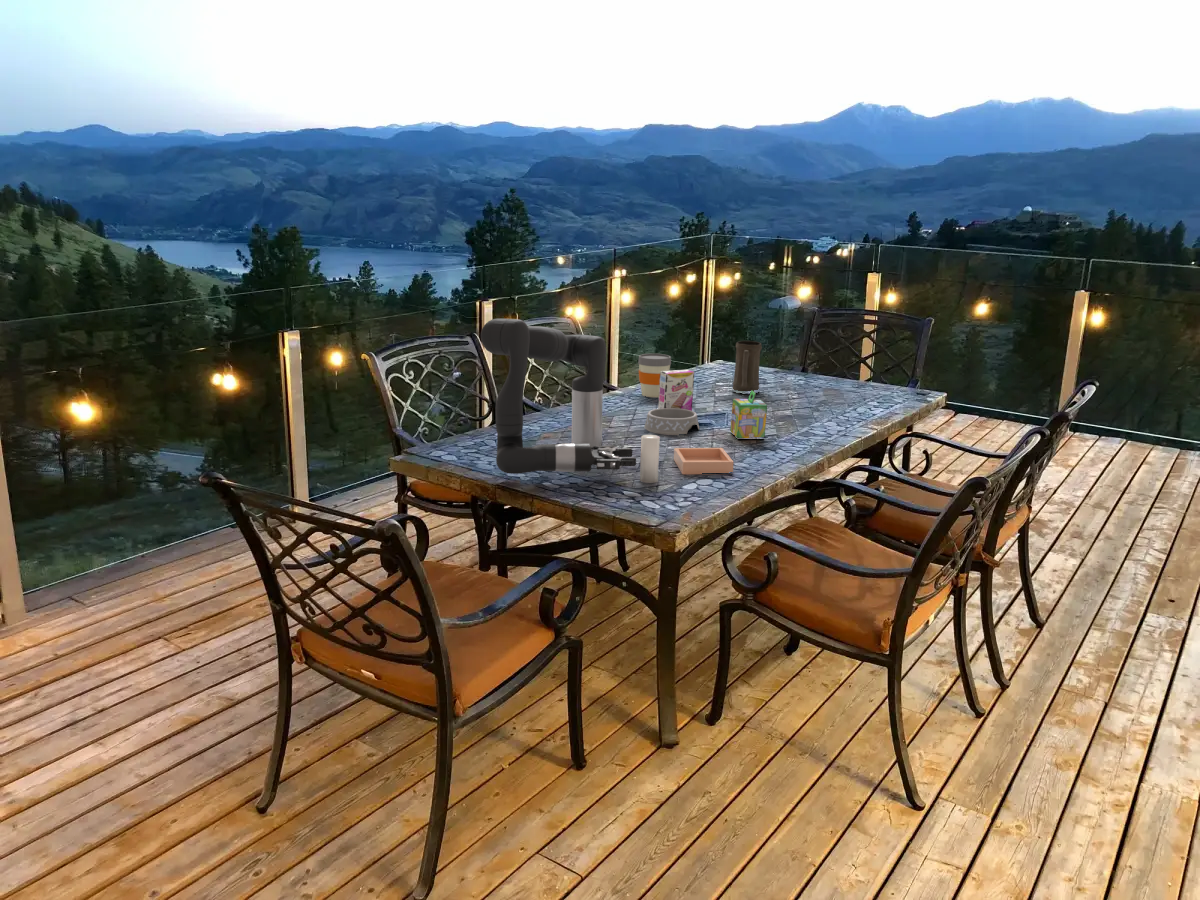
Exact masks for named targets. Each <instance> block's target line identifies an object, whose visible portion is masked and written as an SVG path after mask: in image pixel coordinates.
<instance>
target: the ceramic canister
mask: <svg viewBox="0 0 1200 900" xmlns="http://www.w3.org/2000/svg"><path fill="white" fill-rule="evenodd" d="M640 439H641V440H640V441H641V442H640V467H639V468H640V469H639V481H640V482H641V483H645V484H654V483H655V484H656V483H658V481H659V462H660V459H659V458H660V440H661V437H660V436H658V435H656V434H643V435H641V438H640Z"/></svg>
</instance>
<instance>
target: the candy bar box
mask: <svg viewBox="0 0 1200 900" xmlns="http://www.w3.org/2000/svg"><path fill="white" fill-rule="evenodd" d="M694 385H695V371H693V370H690V369H677V370H675V369H674V370H669V371H660V384H659V397H658V407H657V409H660V408H680V409H687V410H691V411H693V400H694Z"/></svg>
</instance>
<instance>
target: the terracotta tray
mask: <svg viewBox="0 0 1200 900" xmlns="http://www.w3.org/2000/svg"><path fill="white" fill-rule="evenodd" d="M673 461H674V462H675V465H676V466H677V467H678V469H679V471H680V472H681V474H682V475H703V474H702V473H729V472H733V473H734V460H733V459H732V458H731V456H730V455H729V454H728V453H727V452H726V451H725V449H724V448H723V447H674V449H673Z"/></svg>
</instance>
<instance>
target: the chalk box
mask: <svg viewBox="0 0 1200 900" xmlns="http://www.w3.org/2000/svg"><path fill="white" fill-rule="evenodd" d="M756 395H757V394H756V393H755V392H754V391H752V390H751V392H750V395H749V396H748V398H733V399H732V407H731V418H730V427H729V429H730V430H729V432H730V431H731V432H732V433H733V434H734V435H735V436H736V437H737V438H751V437H765V436H766V423H767V411H768V404H766V402H764V401H763V400H762V399H760V398H756ZM765 438H766V437H765Z"/></svg>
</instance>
